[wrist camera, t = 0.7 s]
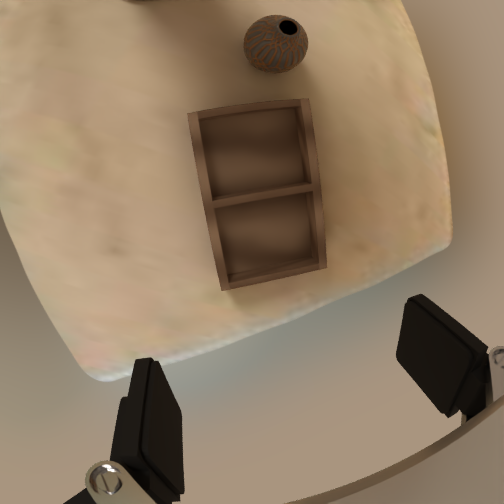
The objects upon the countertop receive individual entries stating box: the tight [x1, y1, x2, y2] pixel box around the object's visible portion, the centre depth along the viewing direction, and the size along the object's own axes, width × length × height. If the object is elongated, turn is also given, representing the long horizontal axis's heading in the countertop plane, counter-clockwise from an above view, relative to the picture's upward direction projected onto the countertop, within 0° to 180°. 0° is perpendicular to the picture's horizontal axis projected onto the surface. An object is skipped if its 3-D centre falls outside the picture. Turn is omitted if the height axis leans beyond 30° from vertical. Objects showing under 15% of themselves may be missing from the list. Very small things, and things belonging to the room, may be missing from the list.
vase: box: [244, 15, 308, 73], centre depth 25 cm, size 7×7×9 cm
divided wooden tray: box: [187, 99, 327, 291], centre depth 33 cm, size 20×13×4 cm, turn 9°
